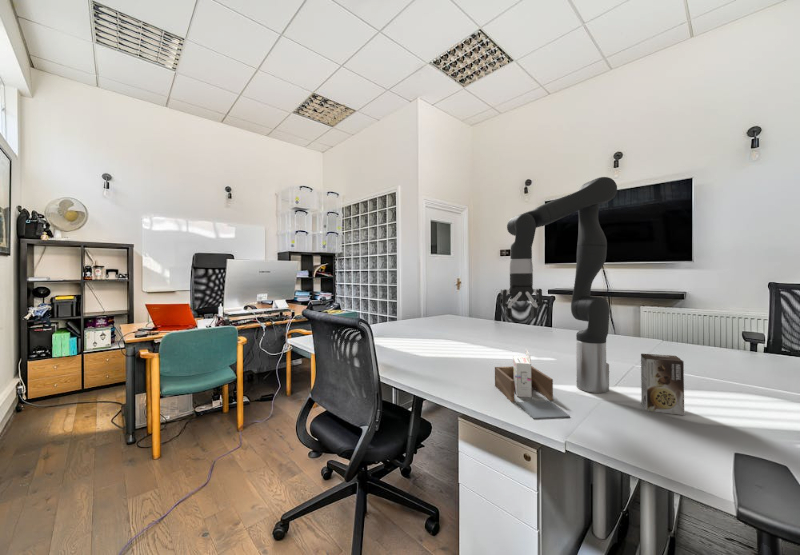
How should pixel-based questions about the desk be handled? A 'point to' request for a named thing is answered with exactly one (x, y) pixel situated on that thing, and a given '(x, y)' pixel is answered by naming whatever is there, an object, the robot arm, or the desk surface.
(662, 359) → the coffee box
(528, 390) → the ink cartridge box
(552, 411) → the mat
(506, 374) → the open front box
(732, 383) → the desk surface
